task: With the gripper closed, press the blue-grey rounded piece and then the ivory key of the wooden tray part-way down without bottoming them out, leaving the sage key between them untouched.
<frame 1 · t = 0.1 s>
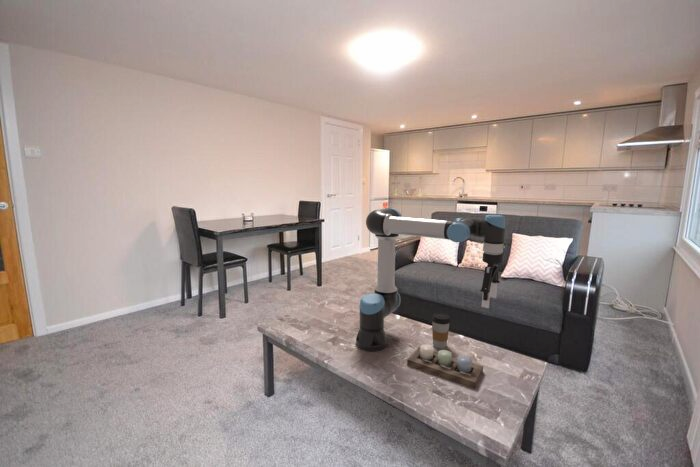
hand: (489, 302, 135), 28 cm above the table, fingers open, 13 cm apart
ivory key: (426, 352, 140), point 5 cm above the table, slide at 0.0 cm
blue-grey rounded piece: (464, 363, 131), point 5 cm above the table, slide at 0.0 cm
wooden tray: (444, 368, 136), on the table
coffee cup: (439, 345, 155), on the table
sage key: (444, 357, 135), point 5 cm above the table, slide at 0.0 cm
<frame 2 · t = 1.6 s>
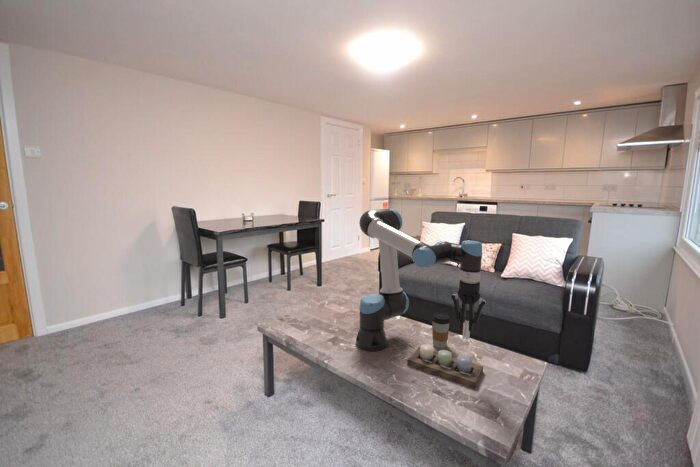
hand: (466, 337, 129), 16 cm above the table, fingers closed
nothing on the table moved.
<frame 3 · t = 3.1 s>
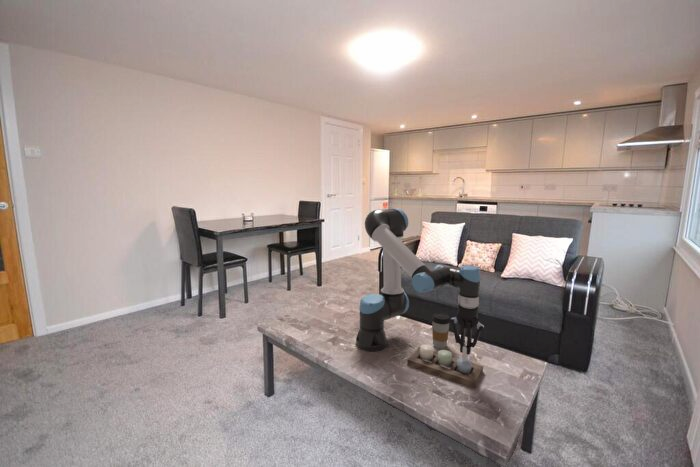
hand: (464, 360, 130), 6 cm above the table, fingers closed
blue-grey rounded piece: (464, 365, 131), point 4 cm above the table, slide at 0.7 cm, touching gripper
everything else where it was.
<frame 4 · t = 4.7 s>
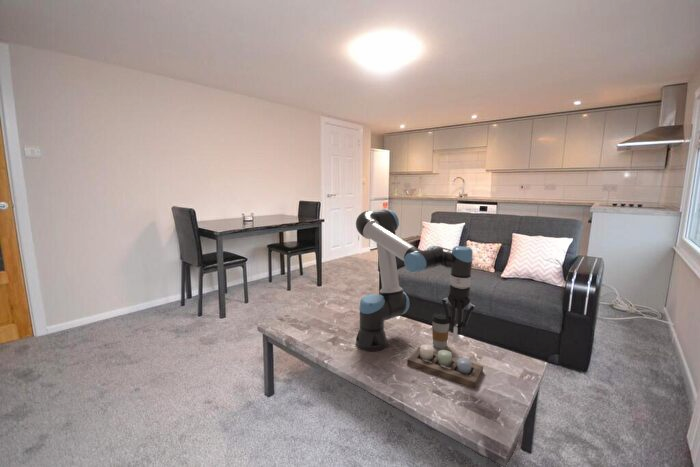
hand: (455, 340, 132), 14 cm above the table, fingers closed
blue-grey rounded piece: (464, 366, 131), point 4 cm above the table, slide at 1.0 cm
everything else where it was.
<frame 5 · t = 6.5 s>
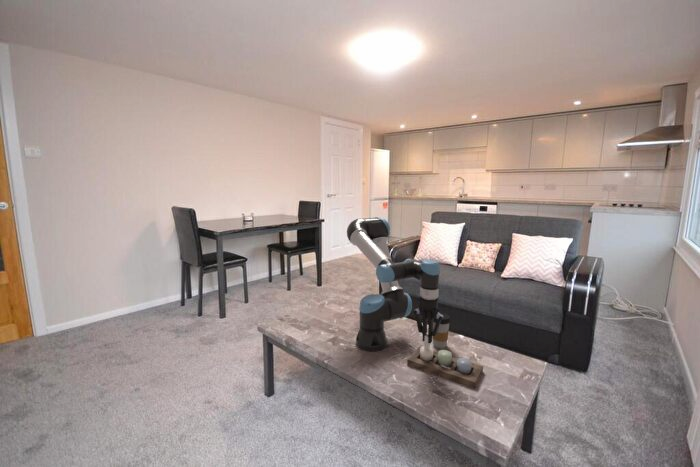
hand: (426, 348, 139), 6 cm above the table, fingers closed
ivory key: (426, 353, 140), point 4 cm above the table, slide at 0.7 cm, touching gripper
everything else where it was.
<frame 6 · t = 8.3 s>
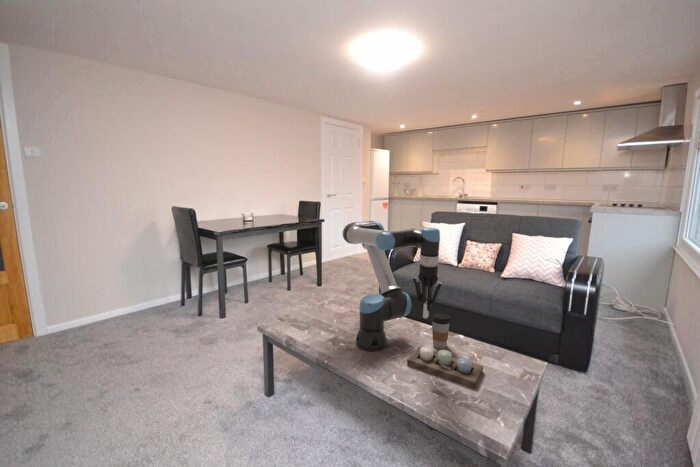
hand: (425, 316, 140), 20 cm above the table, fingers closed
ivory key: (426, 354, 140), point 4 cm above the table, slide at 1.0 cm
everything else where it was.
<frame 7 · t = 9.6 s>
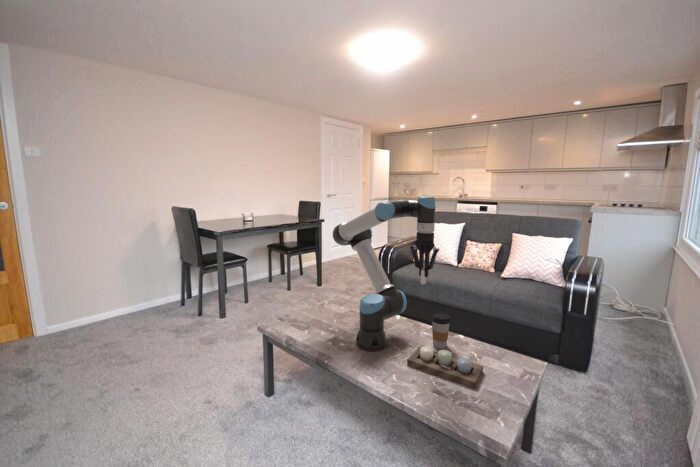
hand: (423, 283, 145), 32 cm above the table, fingers closed
nothing on the table moved.
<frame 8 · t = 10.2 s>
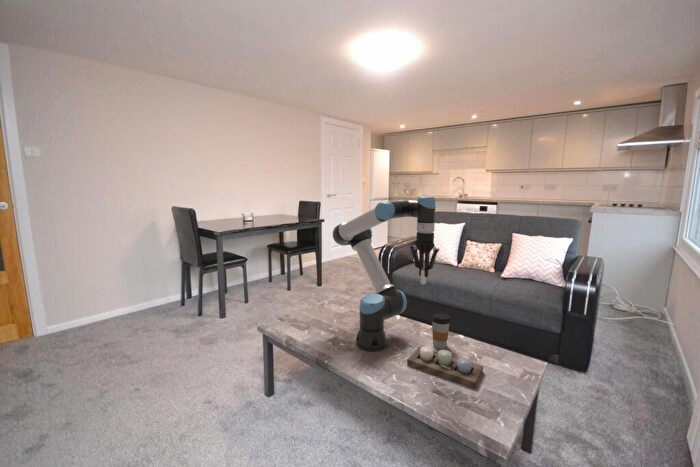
hand: (423, 283, 145), 32 cm above the table, fingers closed
nothing on the table moved.
at the end: blue-grey rounded piece slide at 1.0 cm; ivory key slide at 1.0 cm; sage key slide at 0.0 cm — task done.
